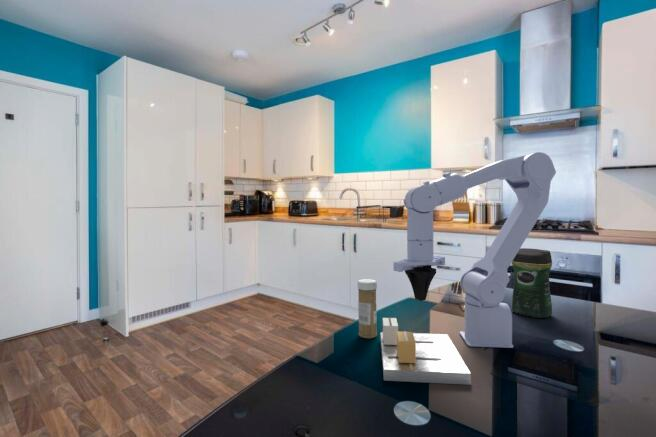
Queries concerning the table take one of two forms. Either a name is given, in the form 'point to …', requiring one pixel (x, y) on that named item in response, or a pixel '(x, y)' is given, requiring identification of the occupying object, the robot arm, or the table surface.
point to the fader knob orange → (406, 347)
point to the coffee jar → (532, 283)
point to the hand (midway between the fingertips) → (420, 299)
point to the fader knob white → (390, 331)
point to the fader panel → (426, 362)
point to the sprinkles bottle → (367, 308)
